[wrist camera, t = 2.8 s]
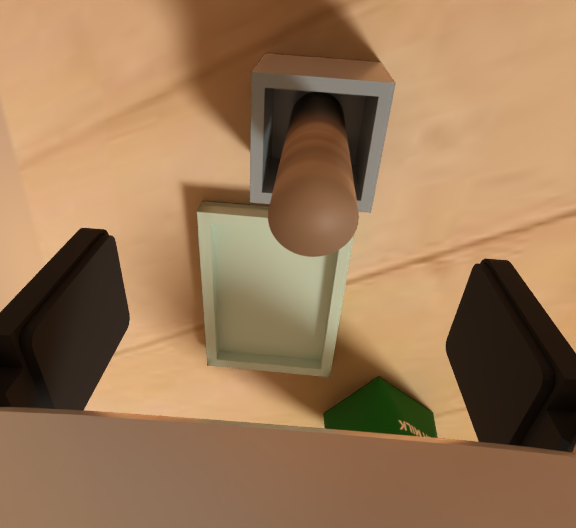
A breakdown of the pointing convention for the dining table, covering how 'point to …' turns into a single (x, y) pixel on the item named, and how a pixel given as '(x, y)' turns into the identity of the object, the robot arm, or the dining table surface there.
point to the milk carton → (381, 412)
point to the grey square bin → (330, 79)
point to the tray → (266, 295)
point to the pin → (314, 181)
